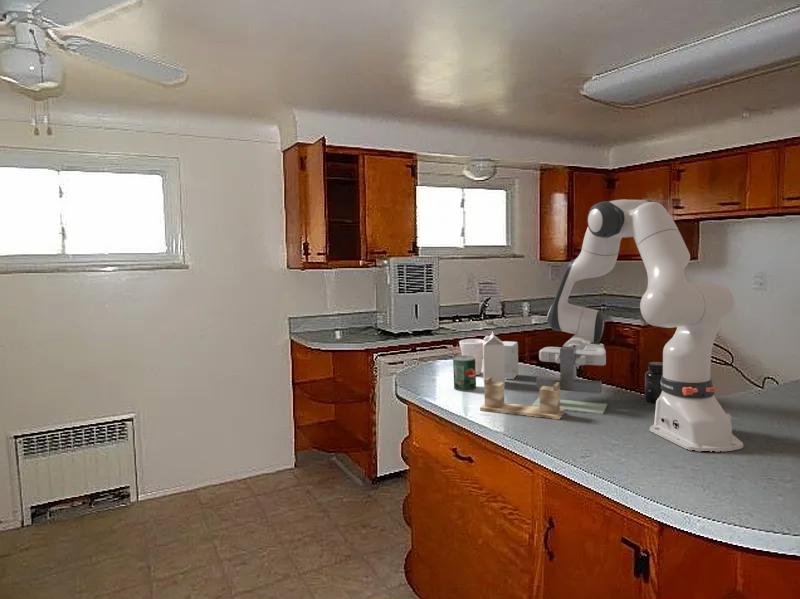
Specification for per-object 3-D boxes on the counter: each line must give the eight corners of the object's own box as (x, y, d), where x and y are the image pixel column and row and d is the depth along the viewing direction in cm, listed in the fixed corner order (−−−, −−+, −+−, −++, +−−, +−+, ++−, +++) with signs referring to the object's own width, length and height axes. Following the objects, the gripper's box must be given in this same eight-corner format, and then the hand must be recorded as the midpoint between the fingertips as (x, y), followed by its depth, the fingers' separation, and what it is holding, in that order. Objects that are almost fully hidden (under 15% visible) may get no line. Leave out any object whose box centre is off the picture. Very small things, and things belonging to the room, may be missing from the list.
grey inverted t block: (602, 390, 166) (601, 348, 164) (599, 394, 162) (599, 351, 161) (539, 384, 175) (538, 344, 173) (536, 388, 171) (535, 347, 170)
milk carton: (503, 381, 201) (501, 330, 199) (505, 386, 194) (503, 333, 192) (483, 381, 201) (482, 331, 199) (484, 387, 194) (483, 334, 192)
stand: (564, 412, 163) (564, 381, 162) (559, 419, 157) (559, 387, 156) (487, 404, 175) (486, 375, 174) (480, 410, 168) (479, 380, 167)
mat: (607, 405, 168) (607, 404, 168) (602, 414, 160) (602, 412, 160) (538, 398, 178) (538, 397, 178) (531, 406, 170) (531, 405, 170)
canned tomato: (476, 391, 190) (475, 360, 189) (453, 391, 191) (452, 360, 190) (476, 385, 198) (475, 355, 196) (454, 385, 199) (453, 355, 198)
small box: (502, 374, 212) (501, 340, 210) (518, 375, 209) (518, 341, 207) (496, 379, 205) (495, 344, 203) (512, 380, 202) (512, 345, 200)
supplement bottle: (640, 399, 172) (640, 362, 171) (658, 397, 174) (658, 360, 173) (655, 405, 166) (655, 367, 165) (674, 403, 168) (674, 364, 166)
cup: (490, 375, 211) (490, 341, 209) (467, 378, 207) (466, 344, 205) (477, 369, 220) (476, 337, 218) (455, 373, 216) (454, 340, 215)
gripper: (544, 340, 183) (533, 349, 171) (609, 344, 174) (602, 353, 162) (544, 359, 184) (533, 368, 172) (608, 363, 174) (602, 374, 162)
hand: (567, 361), depth 167 cm, fingers closed on grey inverted t block, 4 cm apart
